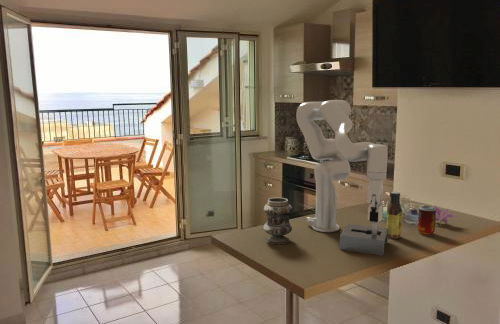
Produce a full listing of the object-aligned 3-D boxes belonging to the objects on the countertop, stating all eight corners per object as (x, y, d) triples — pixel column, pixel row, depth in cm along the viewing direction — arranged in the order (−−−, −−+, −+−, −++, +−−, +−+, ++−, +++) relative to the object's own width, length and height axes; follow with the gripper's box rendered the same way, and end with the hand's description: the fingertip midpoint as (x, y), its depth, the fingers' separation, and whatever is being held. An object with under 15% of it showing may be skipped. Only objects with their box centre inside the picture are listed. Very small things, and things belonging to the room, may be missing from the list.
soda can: (421, 230, 197) (423, 204, 195) (437, 233, 192) (439, 207, 190) (414, 233, 193) (416, 207, 191) (429, 237, 188) (431, 210, 186)
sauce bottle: (401, 239, 185) (404, 194, 181) (386, 238, 186) (388, 194, 183) (399, 234, 191) (402, 191, 188) (384, 233, 192) (387, 190, 189)
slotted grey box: (339, 249, 174) (340, 235, 173) (347, 236, 188) (347, 223, 187) (383, 255, 167) (384, 240, 166) (387, 242, 182) (388, 228, 181)
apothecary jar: (285, 234, 192) (285, 195, 189) (296, 243, 181) (297, 201, 178) (259, 237, 188) (259, 197, 185) (269, 246, 177) (269, 204, 174)
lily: (459, 229, 201) (458, 209, 205) (448, 224, 194) (447, 203, 197) (434, 231, 210) (433, 212, 213) (423, 226, 203) (422, 207, 206)
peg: (366, 240, 174) (368, 207, 172) (368, 236, 179) (369, 204, 177) (379, 241, 172) (381, 209, 170) (381, 237, 177) (382, 206, 175)
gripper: (369, 171, 181) (368, 213, 184) (363, 178, 165) (361, 224, 168) (388, 172, 178) (386, 215, 181) (383, 180, 162) (381, 226, 165)
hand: (374, 219), depth 174 cm, fingers closed on peg, 5 cm apart
